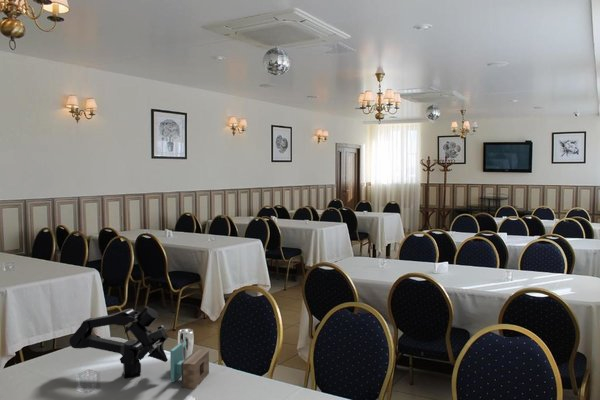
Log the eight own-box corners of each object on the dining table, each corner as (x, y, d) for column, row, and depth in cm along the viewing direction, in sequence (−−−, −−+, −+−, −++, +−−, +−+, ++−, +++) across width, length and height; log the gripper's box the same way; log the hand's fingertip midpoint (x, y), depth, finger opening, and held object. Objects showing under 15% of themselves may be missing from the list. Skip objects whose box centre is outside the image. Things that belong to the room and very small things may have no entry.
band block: (181, 387, 208) (181, 363, 208) (196, 372, 224) (196, 349, 223) (194, 388, 207) (194, 364, 207) (209, 373, 223) (208, 350, 222)
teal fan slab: (170, 381, 213) (170, 350, 212) (179, 373, 222) (179, 343, 221) (187, 383, 212) (187, 351, 211) (195, 374, 220) (195, 344, 219)
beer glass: (190, 367, 230) (189, 333, 229) (175, 365, 231) (175, 332, 230) (196, 361, 236) (196, 329, 236) (182, 360, 238) (181, 328, 237)
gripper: (143, 327, 208) (169, 356, 207) (164, 315, 227) (188, 341, 225) (125, 345, 210) (151, 374, 209) (147, 331, 229) (171, 357, 227)
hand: (166, 361), depth 218 cm, fingers closed
